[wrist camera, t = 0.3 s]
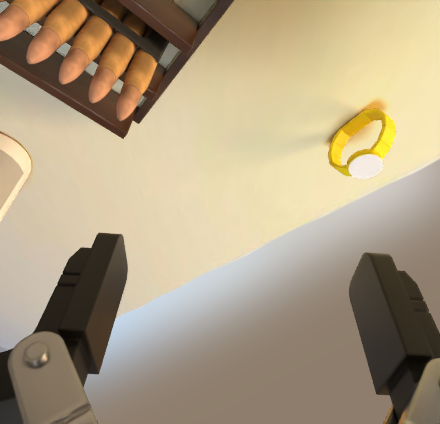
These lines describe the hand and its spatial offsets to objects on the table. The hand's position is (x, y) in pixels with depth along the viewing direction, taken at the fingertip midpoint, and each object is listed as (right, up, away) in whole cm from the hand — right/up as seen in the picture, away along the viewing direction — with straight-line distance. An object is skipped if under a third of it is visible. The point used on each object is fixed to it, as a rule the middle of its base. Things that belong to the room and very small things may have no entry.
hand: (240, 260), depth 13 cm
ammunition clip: (-9, +18, +15) cm, 25 cm away
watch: (+12, +10, +22) cm, 27 cm away
